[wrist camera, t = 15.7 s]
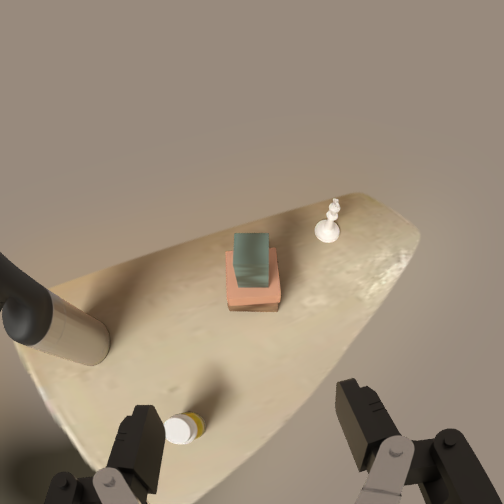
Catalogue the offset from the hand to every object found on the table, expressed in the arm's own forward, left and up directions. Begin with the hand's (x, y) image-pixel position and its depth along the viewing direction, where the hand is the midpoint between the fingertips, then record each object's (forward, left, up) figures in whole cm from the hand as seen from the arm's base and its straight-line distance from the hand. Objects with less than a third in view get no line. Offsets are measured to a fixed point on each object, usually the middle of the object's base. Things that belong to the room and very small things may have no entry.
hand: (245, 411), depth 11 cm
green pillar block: (-1, +19, -28) cm, 34 cm away
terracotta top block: (-2, +19, -32) cm, 37 cm away
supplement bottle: (-11, -5, -35) cm, 37 cm away
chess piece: (+12, +31, -35) cm, 48 cm away
